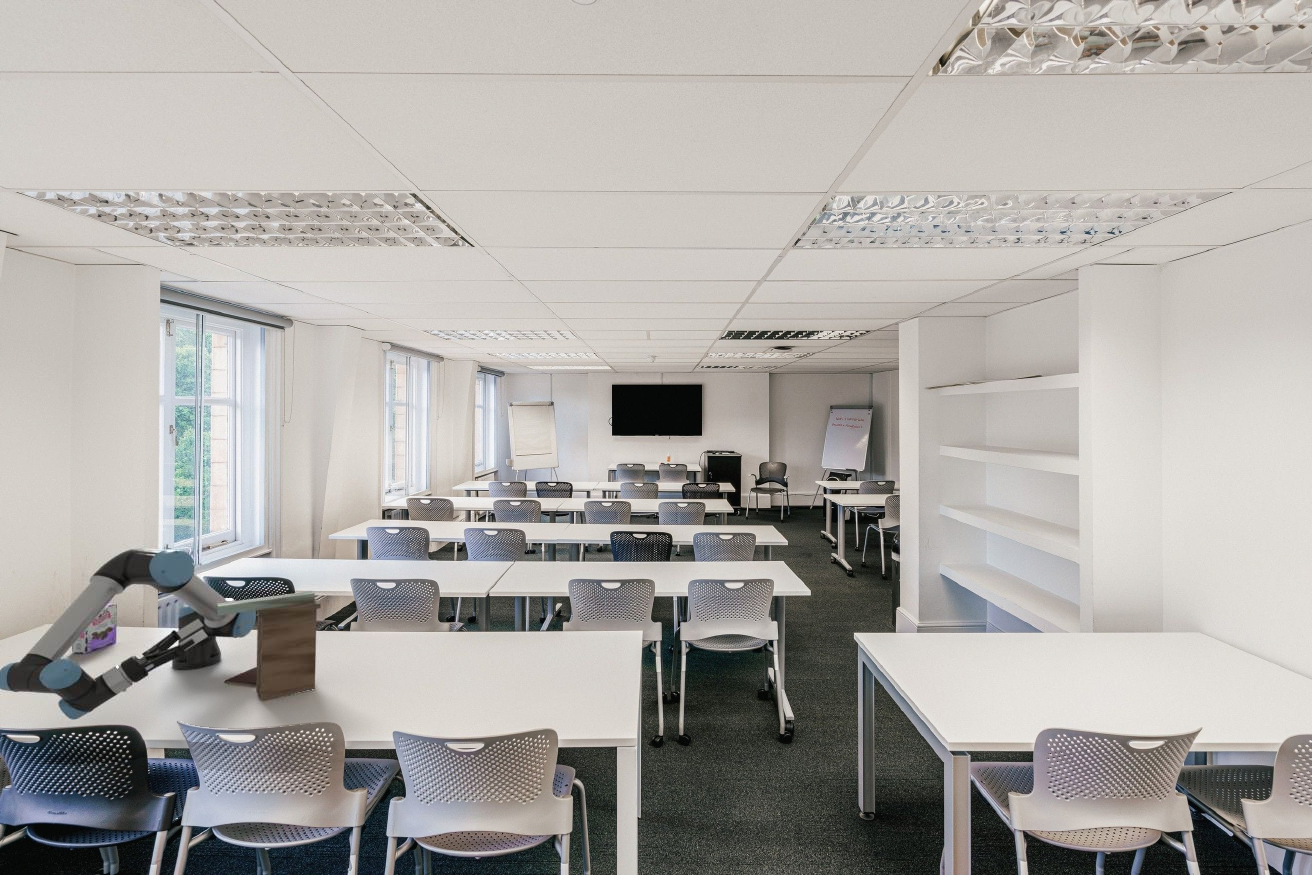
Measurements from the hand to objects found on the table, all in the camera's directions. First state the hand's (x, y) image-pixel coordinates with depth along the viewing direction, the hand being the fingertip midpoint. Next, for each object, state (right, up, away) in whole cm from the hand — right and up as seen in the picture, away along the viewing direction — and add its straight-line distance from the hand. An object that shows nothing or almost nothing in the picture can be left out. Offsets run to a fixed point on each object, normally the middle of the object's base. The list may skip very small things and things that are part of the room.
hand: (203, 627), depth 199 cm
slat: (+13, +3, +12) cm, 18 cm away
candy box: (-82, -24, +52) cm, 100 cm away
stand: (+17, -27, +16) cm, 36 cm away
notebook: (+2, -27, +29) cm, 40 cm away
